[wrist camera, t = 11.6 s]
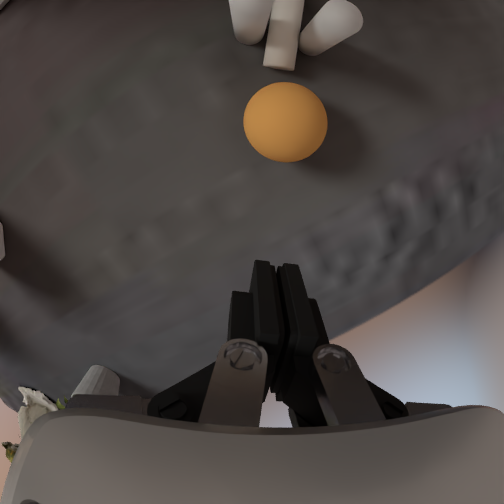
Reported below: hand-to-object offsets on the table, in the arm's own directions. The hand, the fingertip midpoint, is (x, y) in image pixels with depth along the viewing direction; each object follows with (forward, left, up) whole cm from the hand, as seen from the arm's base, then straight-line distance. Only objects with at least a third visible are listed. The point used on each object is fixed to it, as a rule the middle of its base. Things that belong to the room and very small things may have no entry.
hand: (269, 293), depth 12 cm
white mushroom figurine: (+50, -40, -15) cm, 66 cm away
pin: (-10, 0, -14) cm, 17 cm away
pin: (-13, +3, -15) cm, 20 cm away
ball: (-6, +1, -12) cm, 14 cm away
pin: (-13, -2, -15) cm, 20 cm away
